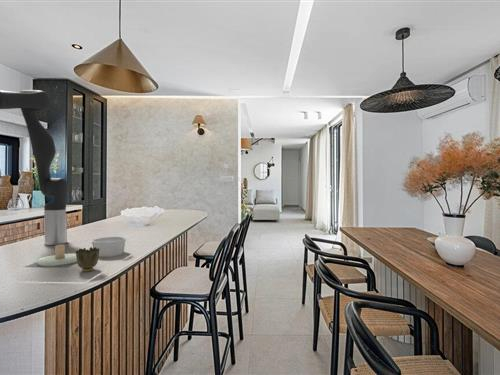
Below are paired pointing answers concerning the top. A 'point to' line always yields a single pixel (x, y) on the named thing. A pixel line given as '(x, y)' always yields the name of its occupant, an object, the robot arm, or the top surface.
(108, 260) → the top surface
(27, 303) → the top surface
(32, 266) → the mat
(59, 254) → the lid
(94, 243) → the ramekin
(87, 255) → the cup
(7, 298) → the top surface
